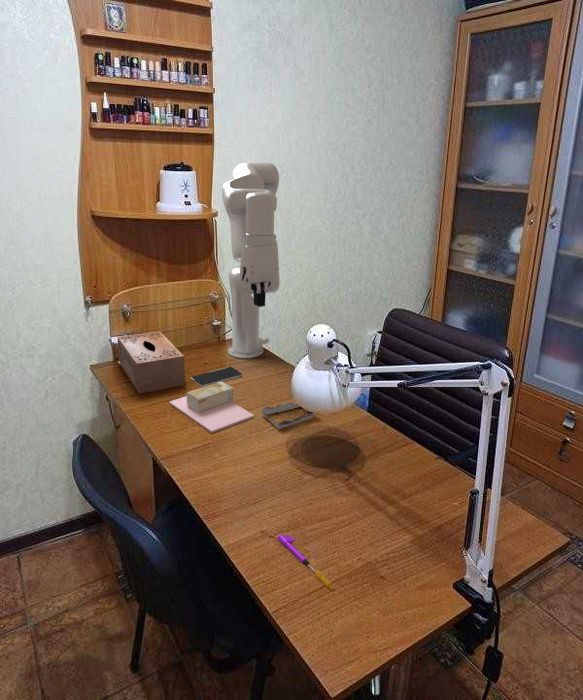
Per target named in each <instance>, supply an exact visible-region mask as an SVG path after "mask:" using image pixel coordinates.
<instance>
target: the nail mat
mask: <svg viewBox="0 0 583 700" xmlns="http://www.w3.org/2000/svg"><path fill="white" fill-rule="evenodd" d="M168 403H169V404H170V405H171V406H172V407H174V408H175V409H177V411H180V412H181V413H182V414H184V415H185V416H186V417H188V418H189V419H191V420H192V421H194V422H195V423H196V424H198V425H199V426H201V427H202V428H204V429H205V430H206V431H208V432H209V433H211V434H213V433H215V432H218V431H221V430H223V429H227V428H229V427H232V426H234V425H236V424H239V423H242V422H245V421H247V420H250V419H253V418H255V415H254V414H253V413H251V412H249V411H247V410H246V409H244V408H243V407H241V406H239V405H238V404H236V403H234V401H231V402H228V403H225V404H222V405H220V406H217V407H214V408H211V409H208V410H205V411H203V412H200V413H198V412H197V411H195V410H193V409H192V408H190V407H189V406H187V395H185V396H183V397H180V398H177V399H173V400H170V401H169V402H168Z"/></svg>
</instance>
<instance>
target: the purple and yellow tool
mask: <svg viewBox="0 0 583 700" xmlns="http://www.w3.org/2000/svg"><path fill="white" fill-rule="evenodd" d="M277 539H278V541H279V542H280V543H281V544H282V545H283V546H284V547H286V548H287V549H288V550H289V551H290V553H292V554H293V555H294V557H296V558H297V559H298V560H299V562H301V563H302V564H304V565H305V566H308V568H310V569H311V570H312V571H313V572H314V574H313V575H314V577H315V578H316V579H317V580H319V581H321V582H322V584H324V586H326V588H329V589H330V591H333V590H334V589H335V587H334V585H332V582H331V581H329V579H327V577H325V576H324V573H322V572H321V571H320V570H319V569H317V570H315V569H314V568H313V567H312V566H311V565H310V562H309V560H308V559H307V558H306V557H305V556H304V555H303V554H302V553H301V552H300V551H299V550H298V549H297V548H296V547H295V546H294V545H293V544H291V543H293V542H295V541H296V540H295V539H294V538H293V537H292V536H291V535H289V534H288V535H286V534H278V535H277Z"/></svg>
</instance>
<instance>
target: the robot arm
mask: <svg viewBox="0 0 583 700" xmlns="http://www.w3.org/2000/svg"><path fill="white" fill-rule="evenodd" d="M279 174H280V173H279V171H278V169H277V167H276V165H274V164H273V163H270V162H243V163H240V164H238V165H236V166H235V168H234V169H233V171H232V179H231V180H229V181H226V182H224V183H223V185H222V187H221V188H222V189H221V196H222V202H223V206H224V209H225V211H226V214H227V216H228V219H229V223H230V238H231V240H230V244H231V253H232V258H233V260H235V262H238V263H240V265H239V266H235V267H233V268H232V269H231V270H230V271H229V273H228V282H229V289H230V296H231V327H232V328H231V330H232V335H231V338H232V339H231V340H232V345H230V346H229V348H228V349H227V350H228V351H227V352H228V355H230V356H231V357H233V358H234V357H235V358H237V359H253V358H256V357H257V358H258V357H259V356H261V355H262V354H263V353H264V348H263V347H262V346H264V345H266V344H269V343H270V339H269V338H268V337H265V338H262V337H260V308H261V307H266V294H273V293H276V292H277V291H279V288H280V283H281V282H280V279H281V278H280V263H279V261H280V260H279V258H280V257H279V247H278V242H277V234H276V233H275V212H276V210H277V207H278V206H277V205H278V200H277V199H278V198H277V195H276V194H277V191H278V189H279V183H280V175H279Z"/></svg>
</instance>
